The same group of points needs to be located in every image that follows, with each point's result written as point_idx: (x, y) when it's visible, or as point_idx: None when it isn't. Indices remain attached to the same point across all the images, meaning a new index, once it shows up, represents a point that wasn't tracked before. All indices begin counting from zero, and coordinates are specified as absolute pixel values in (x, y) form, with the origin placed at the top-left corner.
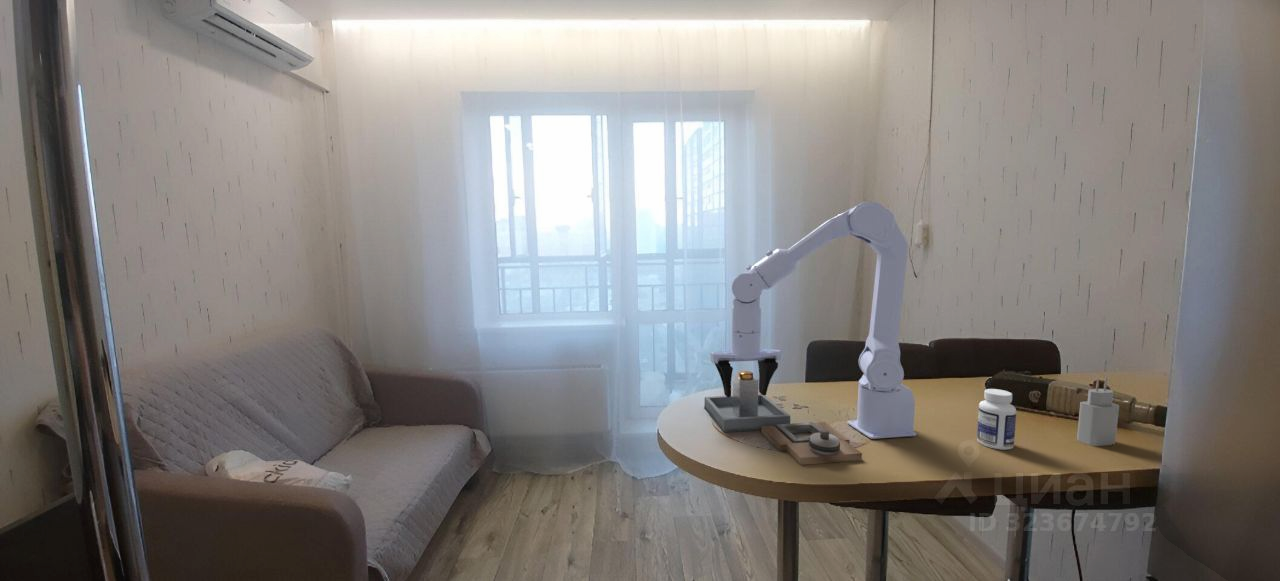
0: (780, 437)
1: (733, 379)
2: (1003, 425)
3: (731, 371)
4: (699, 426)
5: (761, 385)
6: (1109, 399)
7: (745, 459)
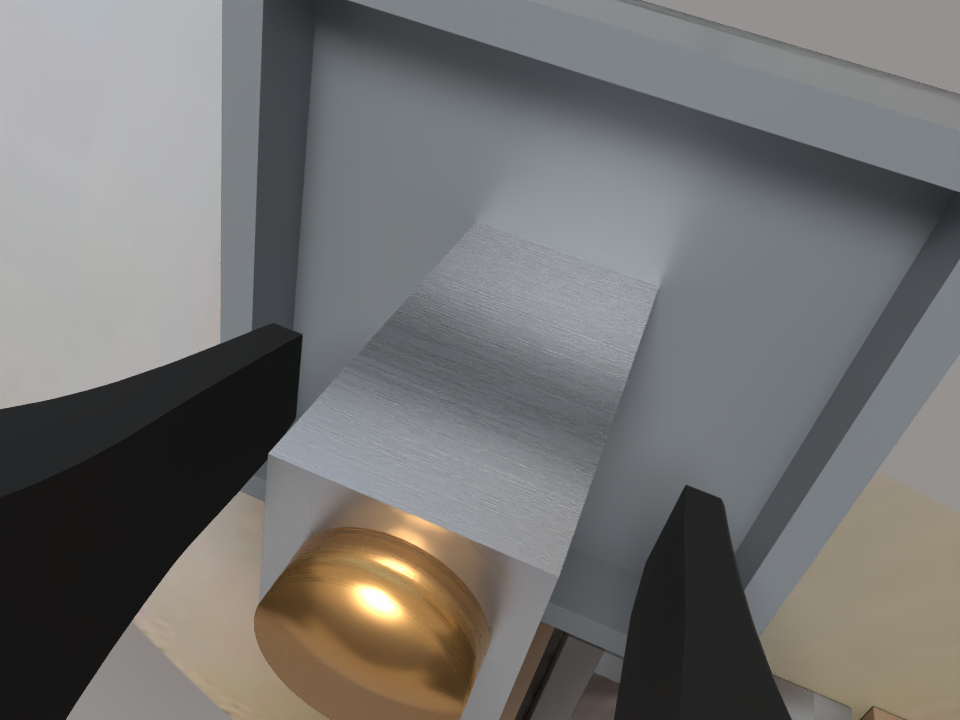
0: None
1: (301, 426)
2: None
3: (56, 710)
4: (151, 273)
5: (654, 603)
6: None
7: (259, 647)
